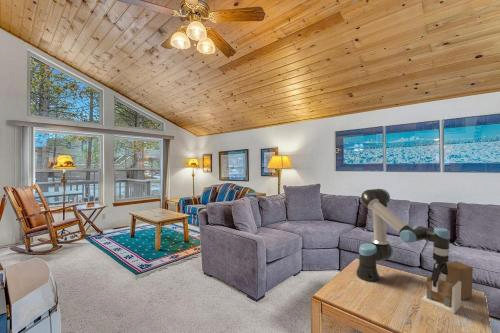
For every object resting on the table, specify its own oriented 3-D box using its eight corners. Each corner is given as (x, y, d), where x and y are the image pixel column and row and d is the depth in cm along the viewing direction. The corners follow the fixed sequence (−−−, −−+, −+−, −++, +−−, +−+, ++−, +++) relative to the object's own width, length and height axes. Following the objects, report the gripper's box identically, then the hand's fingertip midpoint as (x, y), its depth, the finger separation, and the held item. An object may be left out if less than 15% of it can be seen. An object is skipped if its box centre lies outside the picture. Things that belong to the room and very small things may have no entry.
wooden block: (461, 300, 150) (462, 269, 149) (444, 291, 159) (445, 262, 158) (472, 298, 152) (473, 267, 151) (455, 289, 162) (456, 260, 161)
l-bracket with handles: (421, 300, 150) (422, 276, 149) (428, 293, 157) (429, 271, 156) (454, 314, 137) (454, 288, 136) (460, 306, 144) (461, 281, 143)
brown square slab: (426, 296, 151) (427, 278, 151) (429, 294, 153) (429, 276, 153) (450, 306, 141) (451, 286, 141) (452, 304, 144) (453, 284, 143)
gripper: (440, 261, 136) (438, 297, 137) (455, 251, 150) (453, 284, 152) (425, 256, 142) (423, 291, 143) (440, 247, 156) (438, 278, 158)
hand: (438, 287), depth 148 cm, fingers open, 13 cm apart
